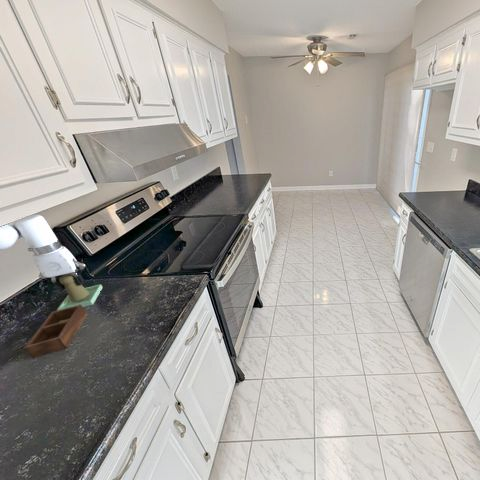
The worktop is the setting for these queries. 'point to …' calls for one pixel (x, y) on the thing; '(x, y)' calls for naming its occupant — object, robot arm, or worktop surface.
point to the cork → (73, 287)
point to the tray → (84, 302)
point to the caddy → (56, 331)
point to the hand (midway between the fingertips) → (72, 285)
